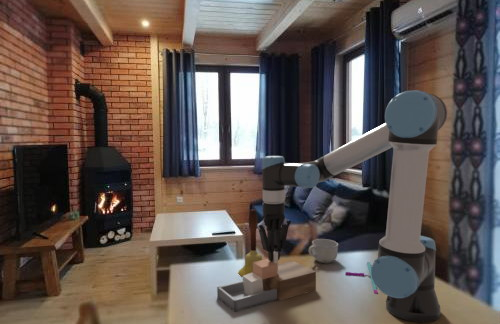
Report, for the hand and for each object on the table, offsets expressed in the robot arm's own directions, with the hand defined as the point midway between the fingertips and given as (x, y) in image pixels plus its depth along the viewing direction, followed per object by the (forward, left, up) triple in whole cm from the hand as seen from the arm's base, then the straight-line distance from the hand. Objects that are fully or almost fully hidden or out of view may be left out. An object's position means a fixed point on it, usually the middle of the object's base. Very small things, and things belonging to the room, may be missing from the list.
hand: (274, 269), depth 130 cm
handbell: (+18, -2, -8) cm, 20 cm away
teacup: (+14, -33, -8) cm, 37 cm away
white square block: (0, +7, -4) cm, 7 cm away
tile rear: (0, +4, -1) cm, 4 cm away
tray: (0, +11, -8) cm, 13 cm away
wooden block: (-1, -5, -8) cm, 9 cm away
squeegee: (-7, -34, -9) cm, 36 cm away
